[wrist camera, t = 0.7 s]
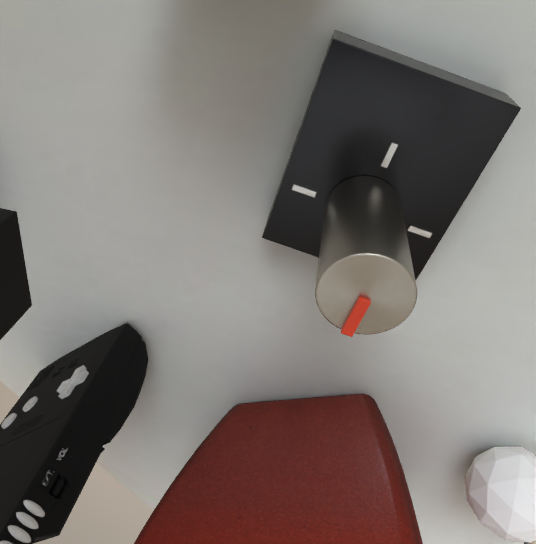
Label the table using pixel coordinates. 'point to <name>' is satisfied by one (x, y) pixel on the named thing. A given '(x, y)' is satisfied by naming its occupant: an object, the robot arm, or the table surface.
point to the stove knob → (364, 259)
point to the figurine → (504, 492)
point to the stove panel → (388, 143)
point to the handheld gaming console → (65, 432)
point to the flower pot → (290, 479)
